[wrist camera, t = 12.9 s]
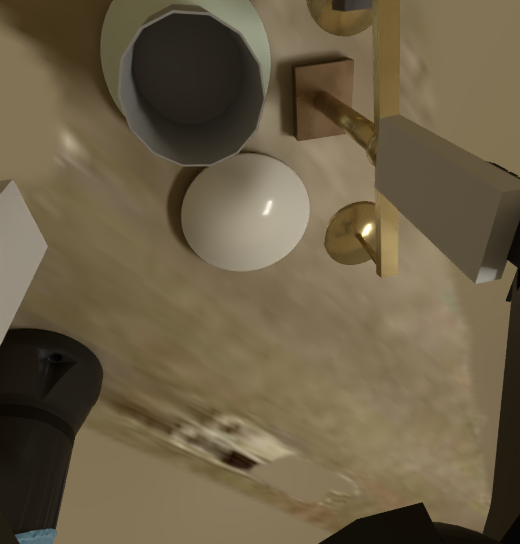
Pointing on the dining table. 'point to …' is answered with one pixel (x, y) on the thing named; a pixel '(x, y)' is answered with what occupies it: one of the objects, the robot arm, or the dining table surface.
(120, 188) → the dining table surface
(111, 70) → the dish green
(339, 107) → the balance
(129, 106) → the cup
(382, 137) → the robot arm
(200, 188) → the white dome
